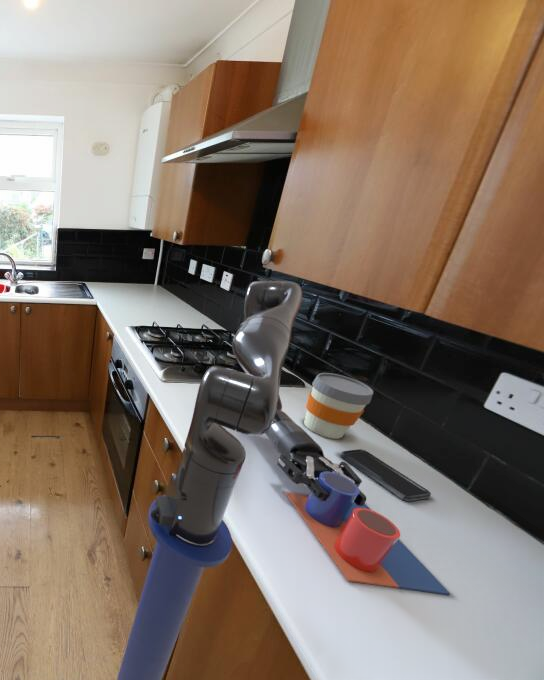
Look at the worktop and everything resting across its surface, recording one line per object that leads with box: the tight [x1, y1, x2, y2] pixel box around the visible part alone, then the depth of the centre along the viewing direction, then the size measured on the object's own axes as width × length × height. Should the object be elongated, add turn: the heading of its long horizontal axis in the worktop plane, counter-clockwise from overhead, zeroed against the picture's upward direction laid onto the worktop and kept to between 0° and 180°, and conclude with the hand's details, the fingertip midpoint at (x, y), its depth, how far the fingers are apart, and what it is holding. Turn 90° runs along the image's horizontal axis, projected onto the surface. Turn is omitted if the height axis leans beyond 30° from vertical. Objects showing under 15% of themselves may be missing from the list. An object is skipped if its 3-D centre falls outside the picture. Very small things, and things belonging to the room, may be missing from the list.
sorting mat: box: [285, 492, 451, 596], centre depth 68 cm, size 16×19×1 cm
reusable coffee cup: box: [303, 372, 374, 440], centre depth 98 cm, size 13×12×15 cm
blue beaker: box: [305, 471, 361, 527], centre depth 70 cm, size 6×6×8 cm
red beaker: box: [334, 508, 401, 572], centre depth 62 cm, size 6×6×8 cm
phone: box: [339, 448, 432, 502], centre depth 84 cm, size 8×1×15 cm
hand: (343, 500), depth 67 cm, fingers closed on blue beaker, 6 cm apart
